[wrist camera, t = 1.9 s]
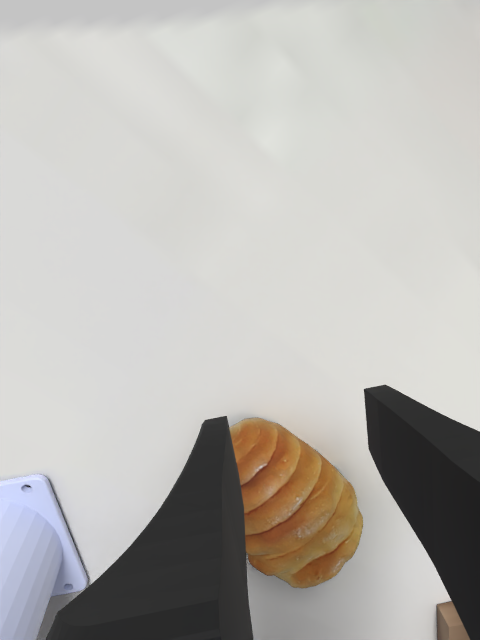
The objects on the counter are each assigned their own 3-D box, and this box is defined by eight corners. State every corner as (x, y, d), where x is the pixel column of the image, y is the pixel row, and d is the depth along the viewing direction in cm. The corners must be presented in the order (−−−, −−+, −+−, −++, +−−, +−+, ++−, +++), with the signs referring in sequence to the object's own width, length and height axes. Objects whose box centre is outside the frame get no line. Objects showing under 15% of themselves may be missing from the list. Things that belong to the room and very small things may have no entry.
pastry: (174, 453, 24) (171, 505, 20) (280, 384, 23) (296, 426, 20) (269, 557, 27) (281, 618, 23) (365, 499, 26) (393, 553, 23)
